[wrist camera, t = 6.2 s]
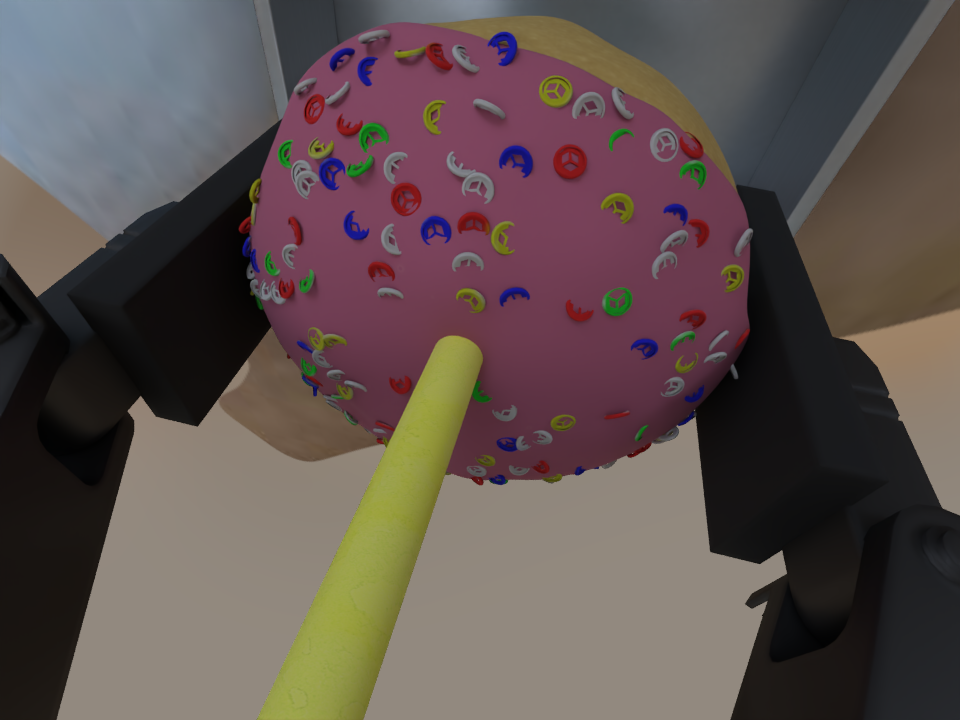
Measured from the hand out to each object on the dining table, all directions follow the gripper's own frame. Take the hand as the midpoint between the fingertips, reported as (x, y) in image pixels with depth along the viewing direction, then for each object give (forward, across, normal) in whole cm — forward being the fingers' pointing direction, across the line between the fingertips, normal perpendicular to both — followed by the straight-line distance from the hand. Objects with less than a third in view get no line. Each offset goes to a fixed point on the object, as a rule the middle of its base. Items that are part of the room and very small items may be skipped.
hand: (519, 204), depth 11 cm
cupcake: (+1, 0, 0) cm, 1 cm away
